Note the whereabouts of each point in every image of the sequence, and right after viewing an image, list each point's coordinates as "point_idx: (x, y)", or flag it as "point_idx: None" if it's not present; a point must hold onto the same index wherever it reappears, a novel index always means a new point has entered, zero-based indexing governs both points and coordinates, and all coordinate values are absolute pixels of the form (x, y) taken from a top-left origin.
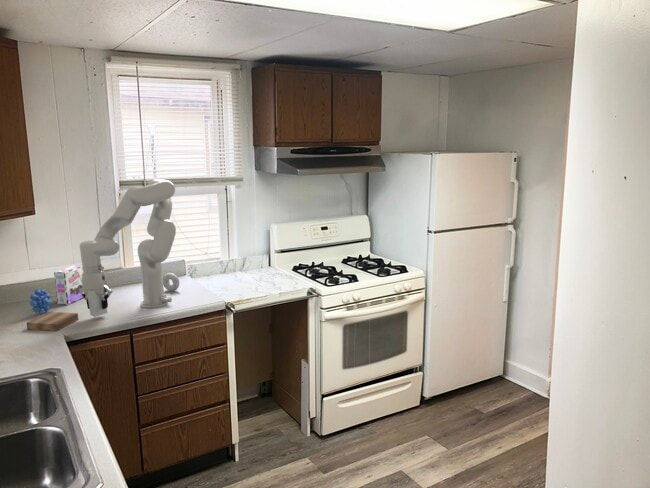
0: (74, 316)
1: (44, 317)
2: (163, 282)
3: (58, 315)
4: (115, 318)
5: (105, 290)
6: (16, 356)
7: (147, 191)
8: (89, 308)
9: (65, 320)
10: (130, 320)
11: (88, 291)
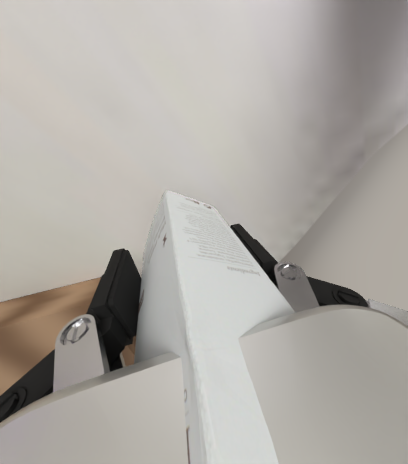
0: None
1: (3, 386)
2: None
3: (33, 352)
4: (255, 205)
5: (337, 331)
6: None
7: None
8: (141, 281)
9: (132, 347)
10: (319, 204)
11: None
